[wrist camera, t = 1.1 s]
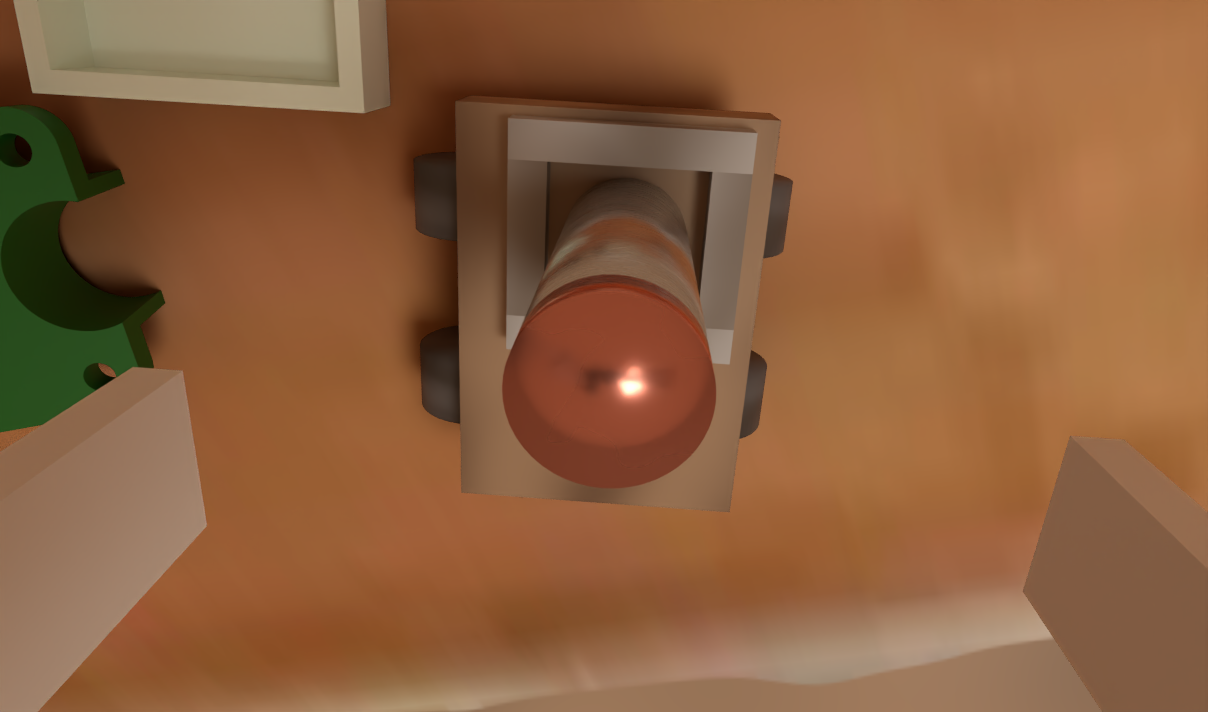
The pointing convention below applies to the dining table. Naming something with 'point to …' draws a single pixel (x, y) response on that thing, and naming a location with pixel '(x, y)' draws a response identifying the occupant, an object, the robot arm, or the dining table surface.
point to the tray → (211, 51)
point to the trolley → (529, 235)
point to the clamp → (54, 281)
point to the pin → (614, 345)
